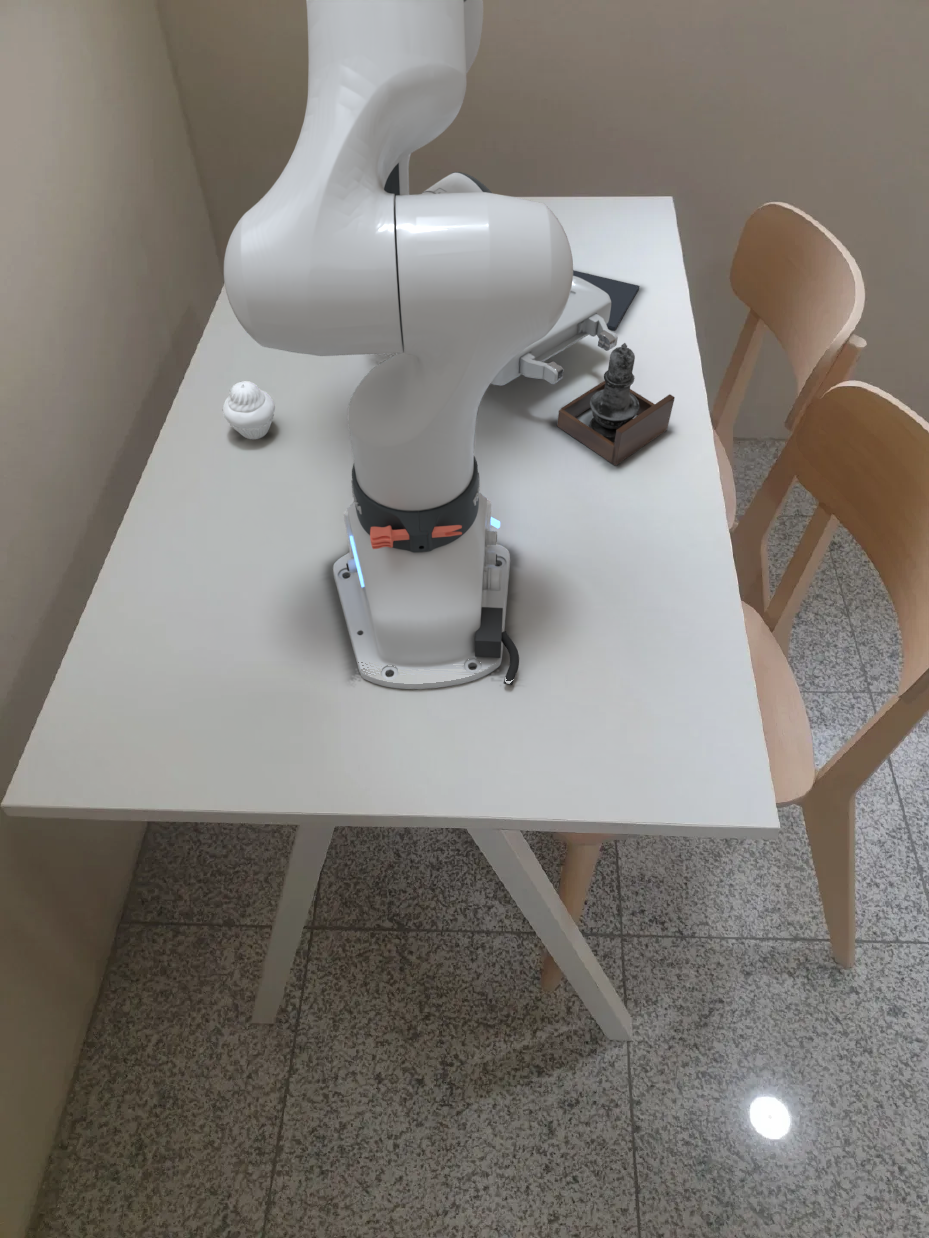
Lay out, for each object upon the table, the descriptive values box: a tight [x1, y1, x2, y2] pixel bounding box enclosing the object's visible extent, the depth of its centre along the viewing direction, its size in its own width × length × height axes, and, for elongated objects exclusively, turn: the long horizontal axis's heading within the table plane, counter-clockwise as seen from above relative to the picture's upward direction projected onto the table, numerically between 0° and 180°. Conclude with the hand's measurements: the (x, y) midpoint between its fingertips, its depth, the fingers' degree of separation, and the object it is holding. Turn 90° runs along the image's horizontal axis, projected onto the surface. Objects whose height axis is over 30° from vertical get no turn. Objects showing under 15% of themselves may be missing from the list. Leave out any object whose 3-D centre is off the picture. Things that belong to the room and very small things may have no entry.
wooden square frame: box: [556, 380, 676, 467], centre depth 101 cm, size 10×9×5 cm
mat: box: [573, 269, 640, 332], centre depth 119 cm, size 11×11×1 cm
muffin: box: [222, 380, 276, 441], centre depth 100 cm, size 6×6×7 cm
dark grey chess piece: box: [588, 342, 639, 443], centre depth 98 cm, size 6×6×12 cm
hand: (586, 360), depth 100 cm, fingers open, 8 cm apart
